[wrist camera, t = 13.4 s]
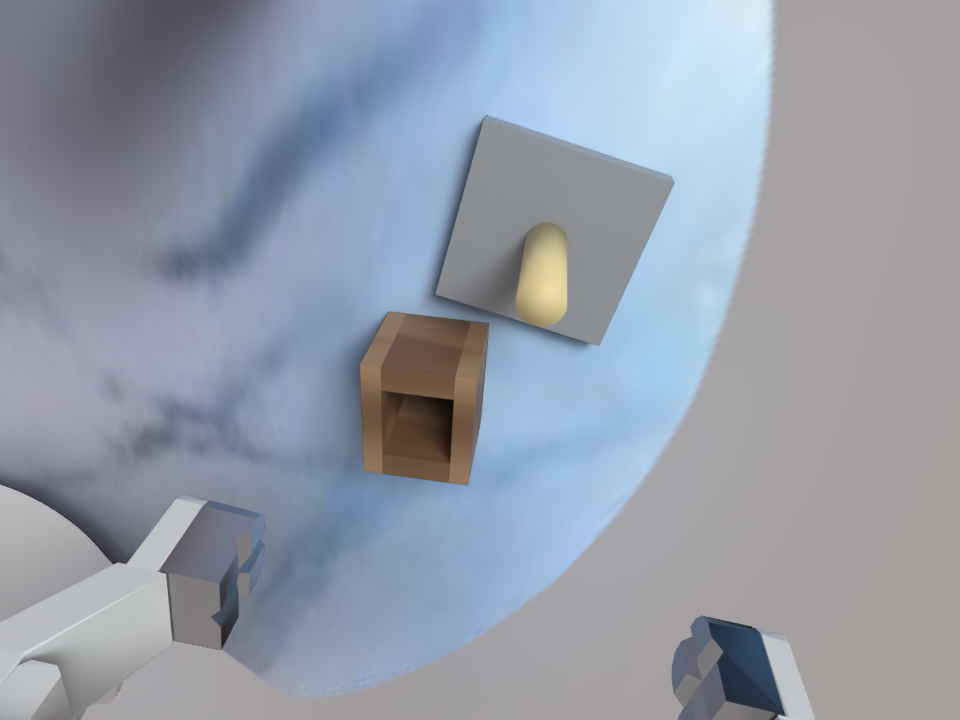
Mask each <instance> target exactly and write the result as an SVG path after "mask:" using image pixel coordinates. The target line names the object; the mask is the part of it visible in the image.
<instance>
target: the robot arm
mask: <svg viewBox="0 0 960 720" xmlns="http://www.w3.org/2000/svg"><path fill="white" fill-rule="evenodd" d="M264 529H265V515H263V514H259V513H256V512H252V511H248V510H244V509H240V508H236V507H233V506H229V505H225V504H221V503H217V502H213V501H209V500H205V499H201V498H197V497H193V496H189V495H185V494H182V495H181V496H179V497H178V498H176V499H175V500H174V501H173V502H172V504H171V505H170V506H169V508H168V509H167V510H166V512H165V513H164V514H163V516H162V517H161V518H160V520H159V521H158V522H157V524H156V525H155V526H154V528H153V529H152V530H151V532H150V533H149V534H148V536H147V537H146V538H145V540H144V541H143V542H142V543H141V545H140V546H139V547H138V549H137V550H136V551H135V553H134V554H133V555H132V557H131V558H130V559H129V561H128V562H127V563H126V564H123V563H116V564H114V565H113V564H112V563H111V562H110V561H109V560H108V559H107V558H106V556H105V555H104V554H103V553H102V552H101V551H100V549H99V548H98V547H97V546H96V545H95V544H94V543H93V542H92V541H91V539H90V538H89V537H88V536H86V535H85V534H84V533H83V532H82V531H81V530H80V529H79V528H78V527H76V526H75V525H74V524H73V523H71V522H70V521H69V520H67V519H66V518H65V517H63V516H62V515H60V514H59V513H57V512H56V511H54V510H53V509H51V508H50V507H48V506H46V505H44V504H43V503H41V502H39V501H37V500H35V499H33V498H31V497H29V496H27V495H25V494H23V493H21V492H18V491H16V490H13V489H11V488H8V487H5V486H3V485H0V720H81V718H82V716H83V715H84V713H85V711H86V709H87V708H88V707H89V706H91V705H92V704H93V705H94V704H95V705H96V704H108V703H110V702H111V701H112V700H113V699H114V698H115V696H116V695H117V694H118V692H119V691H120V689H121V686H122V683H123V681H124V680H125V679H127V678H128V677H129V676H131V675H132V674H133V673H134V672H136V671H137V670H139V669H140V668H141V667H142V666H144V665H145V664H147V663H148V662H149V661H150V660H152V659H153V658H155V657H156V656H157V655H159V654H160V653H161V652H162V651H164V650H165V649H166V648H168V647H169V646H170V645H172V643H173V641H177V642H182V643H187V644H192V645H198V646H202V647H207V648H212V649H217V650H222V648H223V646H224V644H225V642H226V640H227V638H228V636H229V634H230V633H231V631H232V629H233V627H234V625H235V623H236V621H237V619H238V615H239V602H240V601H241V600H243V599H245V598H246V597H248V596H249V595H250V593H251V591H252V589H253V587H254V585H255V583H256V581H257V578H258V575H259V572H260V569H261V566H262V562H263V557H264V543H263V542H262V541H261V539H260V536H261V534H262V533H263V531H264ZM690 628H691V633H692V637H690V638H688V639H685V640H683V641H681V643H680V644H679V646H678V648H677V649H676V652H675V654H674V659H673V664H672V685H673V692H674V695H675V696H676V697H677V699H678V700H679V702H680V703H681V704H682V706H683V707H684V709H683V710H682V712H681V714H680V715H679V717H678V720H815V717H814V714H813V711H812V709H811V706H810V703H809V700H808V697H807V694H806V692H805V688H804V686H803V683H802V680H801V677H800V674H799V671H798V668H797V666H796V663H795V660H794V657H793V654H792V651H791V649H790V646H789V643H788V640H787V639H786V638H785V636H784V635H783V634H779V633H776V632H771V631H767V630H763V629H758V628H753V627H752V626H747V625H743V624H738V623H733V622H729V621H724V620H720V619H715V618H711V617H706V616H700V617H698V618H696V619H695V621H694V622H693V623H692V625H691V627H690Z"/></svg>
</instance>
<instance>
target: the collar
mask: <svg viewBox="0 0 960 720" xmlns="http://www.w3.org/2000/svg"><path fill="white" fill-rule="evenodd" d="M488 333H489V323H481V322H473V321H464V320H456V319H447V318H439V317H431V316H422V315H414V314H405V313H397V312H388V314H387V315H386V317H385V319H384V321H383V323H382V325H381V326H380V328H379V330H378V332H377V334H376V336H375V338H374V339H373V341H372V343H371V345H370V347H369V349H368V350H367V352H366V354H365V356H364V358H363V360H362V362H361V363H360V383H361V409H362V435H363V461H364V471H365V472H373V473H380V474H387V475H395V476H402V477H409V478H417V479H424V480H431V481H439V482H446V483H453V484H461V485H468V483H469V478H470V473H471V468H472V463H473V458H474V453H475V448H476V443H477V438H478V433H479V428H480V423H481V413H482V402H483V390H484V379H485V367H486V356H487V345H488Z"/></svg>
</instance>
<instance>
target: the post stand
mask: <svg viewBox="0 0 960 720" xmlns="http://www.w3.org/2000/svg"><path fill="white" fill-rule="evenodd" d="M673 185H674V181H673V179H672V177H671V176H669V175H666V174H663V173H660V172H657V171H654V170H650V169H647V168H644V167H641V166H638V165H635V164H632V163H629V162H626V161H623V160H620V159H617V158H614V157H611V156H608V155H605V154H602V153H599V152H596V151H593V150H590V149H587V148H584V147H581V146H578V145H575V144H572V143H569V142H566V141H563V140H560V139H557V138H554V137H551V136H548V135H545V134H542V133H539V132H536V131H533V130H530V129H527V128H524V127H521V126H518V125H515V124H512V123H509V122H505V121H502V120H499V119H496V118H493V117H490V116H487V115H486V117H485V119H484V121H483V124H482V128H481V131H480V135H479V139H478V142H477V146H476V149H475V153H474V157H473V160H472V164H471V167H470V171H469V175H468V178H467V182H466V185H465V189H464V193H463V196H462V200H461V203H460V207H459V211H458V214H457V218H456V221H455V225H454V229H453V232H452V236H451V240H450V243H449V247H448V250H447V254H446V258H445V261H444V265H443V268H442V272H441V276H440V279H439V283H438V286H437V290H436V295H439V296H442V297H445V298H448V299H451V300H455V301H458V302H461V303H464V304H467V305H470V306H474V307H477V308H480V309H483V310H486V311H489V312H493V313H496V314H499V315H502V316H505V317H508V318H512V319H515V320H518V321H521V322H524V323H527V324H530V325H532V326H536V327H540V328H543V329H546V330H550V331H553V332H556V333H559V334H562V335H565V336H569V337H572V338H575V339H578V340H581V341H584V342H588V343H591V344H594V345H597V346H599V345H600V343H601V341H602V339H603V337H604V335H605V332H606V330H607V328H608V326H609V324H610V322H611V320H612V317H613V315H614V313H615V311H616V309H617V307H618V304H619V302H620V300H621V298H622V296H623V294H624V291H625V289H626V287H627V285H628V283H629V281H630V278H631V276H632V274H633V272H634V270H635V268H636V265H637V263H638V261H639V259H640V257H641V255H642V252H643V250H644V248H645V246H646V244H647V242H648V240H649V237H650V235H651V233H652V231H653V229H654V227H655V224H656V222H657V220H658V218H659V216H660V214H661V211H662V209H663V207H664V205H665V203H666V201H667V198H668V196H669V194H670V192H671V190H672V188H673Z"/></svg>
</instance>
